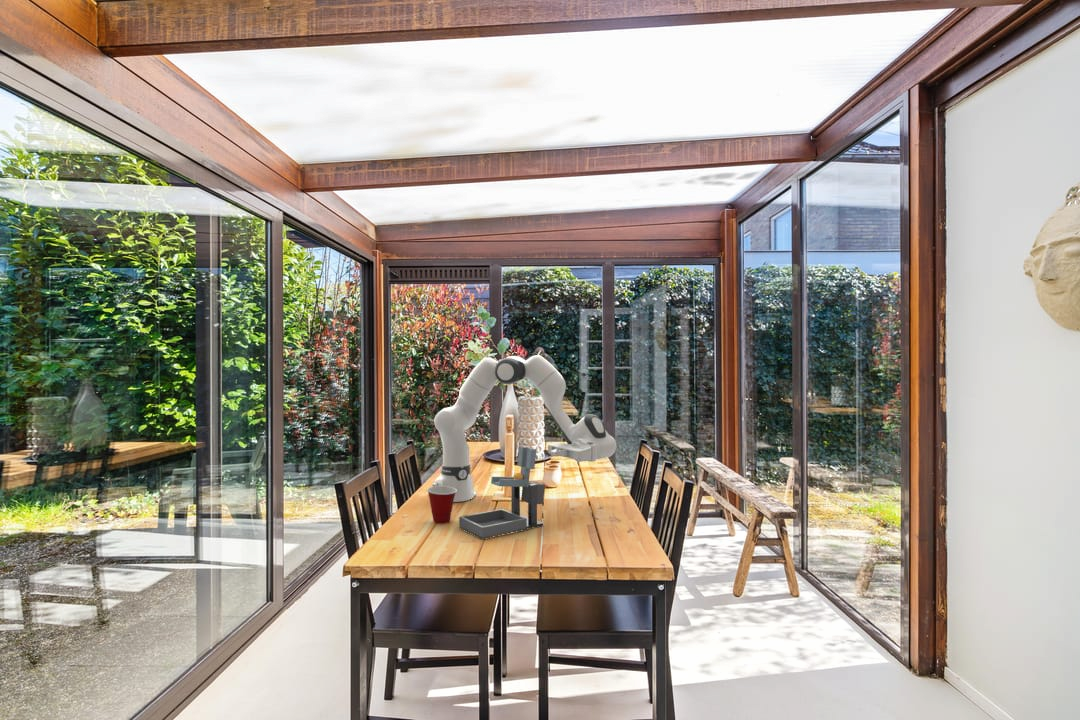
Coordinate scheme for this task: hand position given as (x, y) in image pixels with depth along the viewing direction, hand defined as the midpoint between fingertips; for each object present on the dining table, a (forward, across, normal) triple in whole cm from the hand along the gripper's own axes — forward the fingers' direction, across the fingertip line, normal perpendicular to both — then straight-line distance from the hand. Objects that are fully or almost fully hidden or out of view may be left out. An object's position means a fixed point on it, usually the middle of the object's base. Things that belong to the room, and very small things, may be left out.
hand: (552, 453), depth 219 cm
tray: (+26, 0, +24) cm, 35 cm away
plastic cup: (+36, -19, +24) cm, 47 cm away
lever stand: (+13, 0, +24) cm, 27 cm away
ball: (+15, 0, +7) cm, 17 cm away
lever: (+16, 0, +16) cm, 23 cm away
